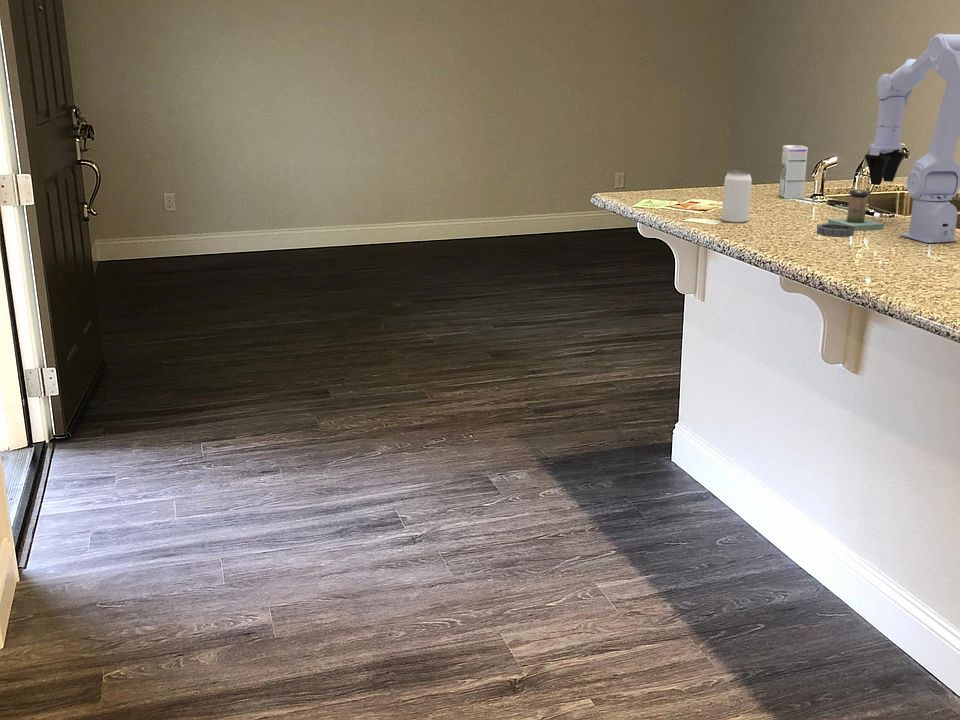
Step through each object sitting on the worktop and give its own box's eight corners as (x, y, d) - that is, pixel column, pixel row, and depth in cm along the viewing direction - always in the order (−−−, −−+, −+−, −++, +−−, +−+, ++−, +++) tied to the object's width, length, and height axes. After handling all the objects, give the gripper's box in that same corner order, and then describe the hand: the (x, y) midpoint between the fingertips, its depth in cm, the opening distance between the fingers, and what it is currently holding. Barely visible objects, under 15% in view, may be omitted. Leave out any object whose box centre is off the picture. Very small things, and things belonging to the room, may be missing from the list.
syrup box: (804, 199, 276) (809, 146, 271) (783, 199, 276) (788, 146, 271) (798, 196, 281) (803, 144, 276) (777, 196, 281) (782, 144, 276)
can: (748, 223, 239) (753, 174, 235) (721, 222, 240) (725, 173, 236) (747, 219, 245) (751, 170, 241) (720, 218, 246) (724, 170, 242)
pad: (883, 228, 232) (884, 223, 232) (851, 230, 230) (851, 225, 230) (859, 222, 241) (859, 217, 240) (827, 224, 238) (828, 219, 238)
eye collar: (860, 235, 225) (861, 229, 224) (830, 237, 222) (831, 230, 222) (839, 229, 232) (839, 223, 231) (809, 231, 230) (810, 224, 229)
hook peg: (868, 221, 235) (873, 190, 232) (860, 223, 232) (864, 191, 229) (850, 219, 238) (854, 188, 236) (841, 221, 235) (846, 189, 232)
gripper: (884, 123, 243) (877, 178, 247) (860, 127, 233) (853, 184, 237) (913, 125, 238) (905, 181, 243) (889, 128, 228) (882, 187, 233)
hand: (881, 183), depth 240 cm, fingers open, 7 cm apart
